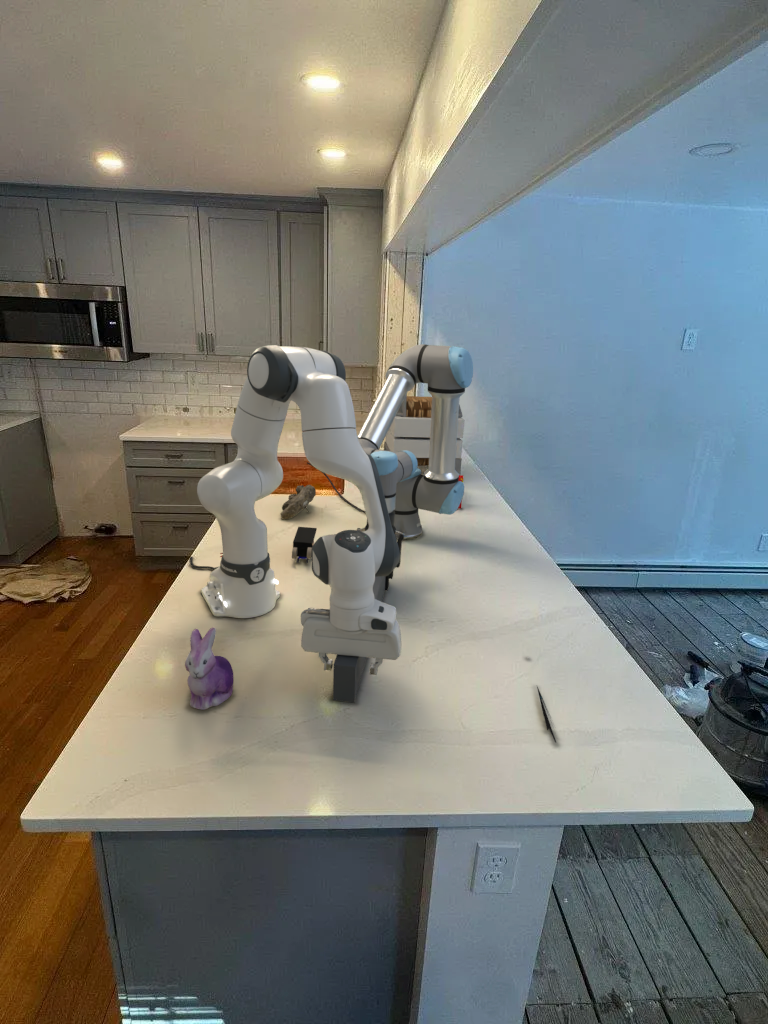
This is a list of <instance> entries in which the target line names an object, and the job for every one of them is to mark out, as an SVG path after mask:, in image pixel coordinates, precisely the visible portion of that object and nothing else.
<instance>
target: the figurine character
mask: <svg viewBox="0 0 768 1024" xmlns="http://www.w3.org/2000/svg"><path fill="white" fill-rule="evenodd" d="M317 530H318V529H317V527H308V526H297V530H296V532H295V535H294V538H293V541H292V551H291V559H294V560H296V563H297V564H299V563H300V560H305V564H308V563H309V560H312V555H311V549H312V547H313V545H314V543H315V537H316V533H317Z"/></svg>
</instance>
